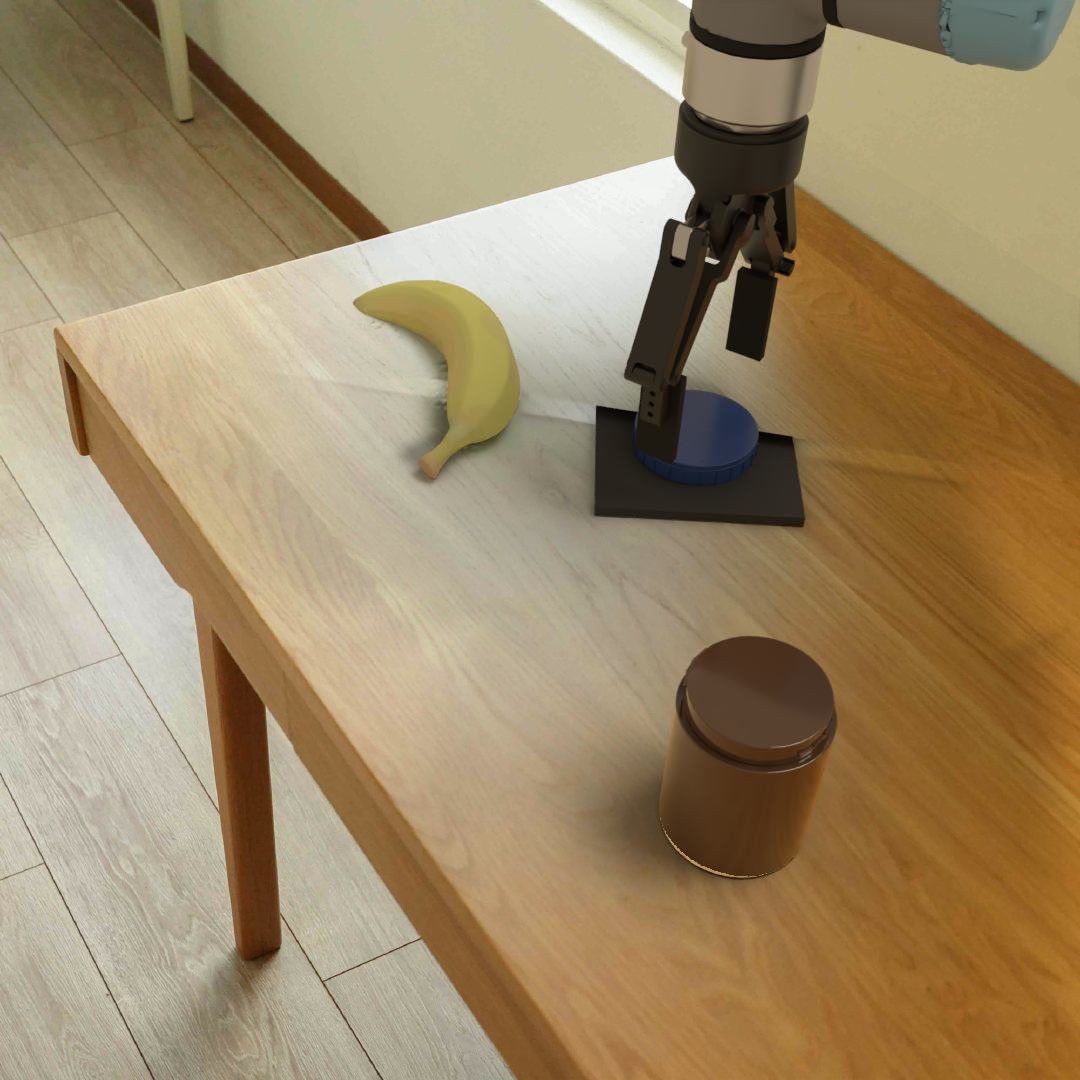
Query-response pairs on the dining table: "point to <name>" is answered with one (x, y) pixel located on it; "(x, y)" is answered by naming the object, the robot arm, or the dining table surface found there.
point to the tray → (645, 494)
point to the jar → (746, 754)
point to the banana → (456, 357)
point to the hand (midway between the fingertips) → (702, 401)
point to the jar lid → (709, 441)
